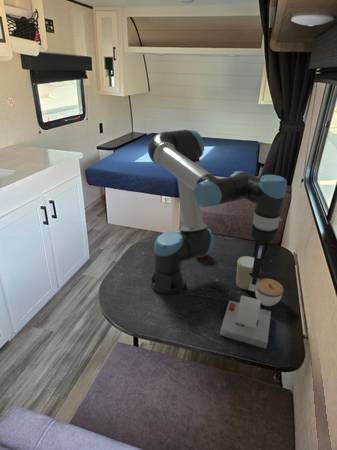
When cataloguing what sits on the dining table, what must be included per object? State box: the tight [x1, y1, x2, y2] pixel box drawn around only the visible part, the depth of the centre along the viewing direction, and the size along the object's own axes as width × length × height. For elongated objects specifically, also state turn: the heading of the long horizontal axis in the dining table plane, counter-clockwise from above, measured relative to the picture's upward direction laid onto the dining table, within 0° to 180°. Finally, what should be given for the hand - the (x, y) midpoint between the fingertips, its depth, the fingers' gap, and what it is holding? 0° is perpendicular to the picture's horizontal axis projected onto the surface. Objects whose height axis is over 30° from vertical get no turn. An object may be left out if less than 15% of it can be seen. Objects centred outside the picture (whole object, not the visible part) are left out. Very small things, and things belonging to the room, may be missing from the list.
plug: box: [236, 295, 262, 328], centre depth 108 cm, size 7×6×11 cm
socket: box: [219, 300, 272, 350], centre depth 110 cm, size 16×16×4 cm
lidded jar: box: [254, 277, 285, 307], centre depth 121 cm, size 11×11×9 cm
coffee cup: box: [235, 255, 255, 290], centre depth 130 cm, size 9×9×12 cm
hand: (253, 286), depth 102 cm, fingers open, 4 cm apart
